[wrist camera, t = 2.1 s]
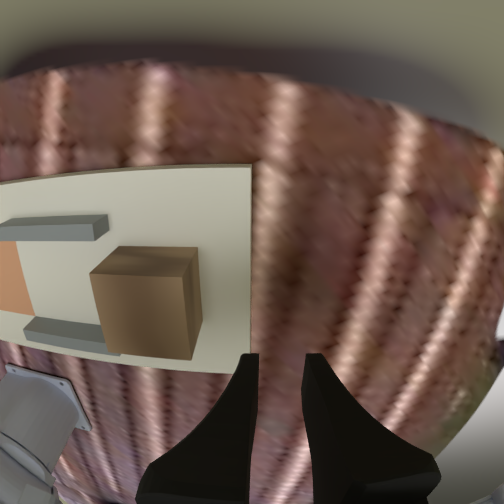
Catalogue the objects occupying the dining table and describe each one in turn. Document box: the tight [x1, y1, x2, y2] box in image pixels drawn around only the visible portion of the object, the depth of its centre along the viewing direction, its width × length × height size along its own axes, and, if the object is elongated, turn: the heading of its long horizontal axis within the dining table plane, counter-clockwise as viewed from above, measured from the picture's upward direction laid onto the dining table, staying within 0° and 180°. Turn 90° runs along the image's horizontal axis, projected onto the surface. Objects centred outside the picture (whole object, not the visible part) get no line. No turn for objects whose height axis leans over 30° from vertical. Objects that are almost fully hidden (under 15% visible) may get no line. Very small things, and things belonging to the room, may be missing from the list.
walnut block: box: [89, 246, 203, 361], centre depth 18 cm, size 5×5×4 cm
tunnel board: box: [0, 164, 252, 374], centre depth 20 cm, size 33×14×4 cm, turn 90°
